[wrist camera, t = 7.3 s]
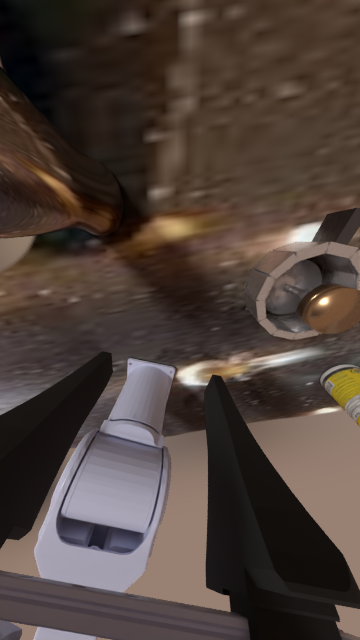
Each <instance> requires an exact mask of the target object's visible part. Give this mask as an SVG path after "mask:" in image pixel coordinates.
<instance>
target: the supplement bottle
mask: <svg viewBox="0 0 360 640" xmlns="http://www.w3.org/2000/svg"><path fill="white" fill-rule="evenodd" d="M320 382H321V384H322V386H323V387H324V388H325V389H326V390H327V391H328V393H329V394H330V395H331V396H332V397H333V398H334V399H335V400H336V401H337V402H338V403H339V405H340V406H341V407H342V408H343V409H344V410H345V411H346V412H347V413H348V414H349V415H350V417H351V418H352V419H353V420H354V421H355V422H356V423H357V424H358V425H359V426H360V368H359V367H357V366H354V365H349V364H344V365H338V366H335V367H332V368H330V369H329V370H327V371H326V372H324V373H323V375H322V376H321V379H320Z"/></svg>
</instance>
